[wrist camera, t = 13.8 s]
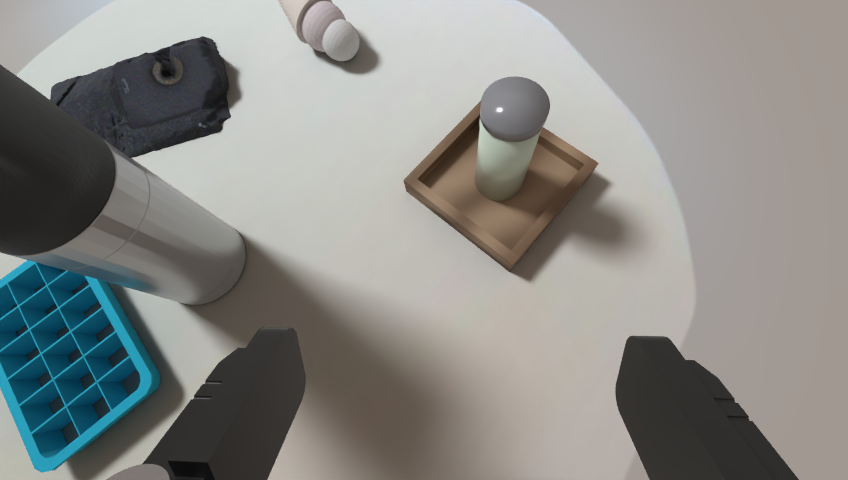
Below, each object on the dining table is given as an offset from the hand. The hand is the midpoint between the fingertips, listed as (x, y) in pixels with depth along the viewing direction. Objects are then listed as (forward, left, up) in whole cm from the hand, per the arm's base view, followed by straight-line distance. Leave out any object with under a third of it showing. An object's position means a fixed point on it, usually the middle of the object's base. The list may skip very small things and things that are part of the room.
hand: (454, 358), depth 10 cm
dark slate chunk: (-50, -1, -29) cm, 58 cm away
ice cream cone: (-40, +20, -29) cm, 53 cm away
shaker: (-9, +18, -28) cm, 34 cm away
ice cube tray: (-30, -23, -29) cm, 48 cm away
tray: (-9, +18, -29) cm, 35 cm away
